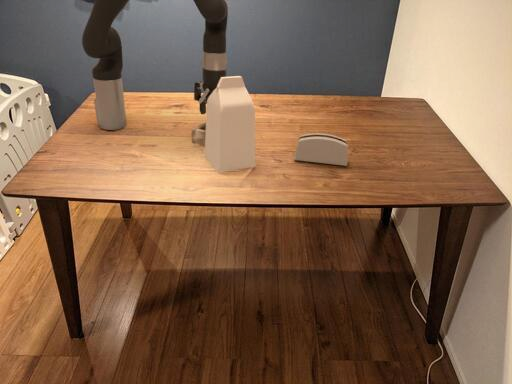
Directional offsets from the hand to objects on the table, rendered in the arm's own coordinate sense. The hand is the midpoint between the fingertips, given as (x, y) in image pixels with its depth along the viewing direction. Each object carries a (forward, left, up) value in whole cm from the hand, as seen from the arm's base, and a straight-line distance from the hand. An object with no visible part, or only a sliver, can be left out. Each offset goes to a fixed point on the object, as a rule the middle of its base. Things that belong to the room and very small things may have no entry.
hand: (214, 116), depth 134 cm
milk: (+13, -12, -9) cm, 20 cm away
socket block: (0, 0, -9) cm, 9 cm away
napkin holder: (+37, +4, -9) cm, 38 cm away
